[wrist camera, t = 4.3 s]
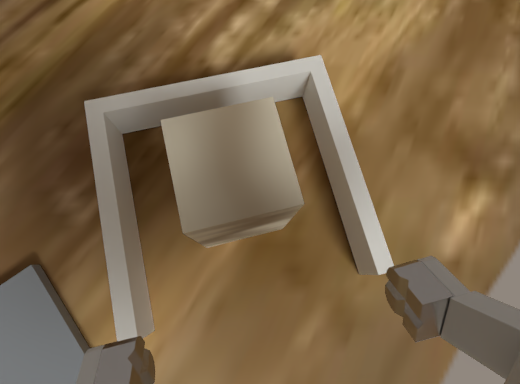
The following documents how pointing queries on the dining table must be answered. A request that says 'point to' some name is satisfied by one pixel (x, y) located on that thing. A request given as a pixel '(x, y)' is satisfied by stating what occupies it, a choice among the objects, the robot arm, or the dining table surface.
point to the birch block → (231, 172)
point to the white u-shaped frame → (201, 99)
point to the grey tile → (37, 333)
